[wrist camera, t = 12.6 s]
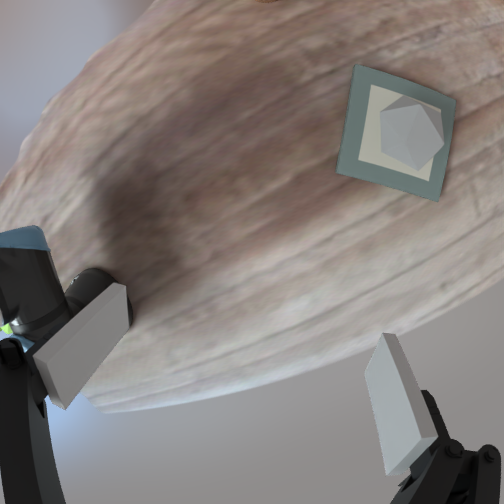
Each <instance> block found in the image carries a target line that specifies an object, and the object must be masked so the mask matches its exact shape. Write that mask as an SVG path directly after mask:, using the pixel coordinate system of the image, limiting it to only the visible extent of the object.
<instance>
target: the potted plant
mask: <svg viewBox="0 0 504 504" xmlns="http://www.w3.org/2000/svg"><path fill="white" fill-rule="evenodd" d="M255 1H258V2H265V3H269V2H274V1H277V0H255Z"/></svg>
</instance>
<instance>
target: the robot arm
mask: <svg viewBox="0 0 504 504" xmlns="http://www.w3.org/2000/svg"><path fill="white" fill-rule="evenodd" d="M50 252H51V250H50V248H48V245H47V242H46V239H45V236H44V233H43V231H42V229H41V228H40V227H38V226H35V225H32V226H27V227H22V228H18V229H13V230H9V231H6V232H2V233H0V327H3V326H5V325H6V324H8V323H9V325H10V327H11V330H12V332H13V335H11V336H10V337H9V338H5V339H3V340H1V341H0V470H1V478H2V486H3V492H4V498H5V504H66V502H65V499H64V495H63V492H62V489H61V485H60V481H59V477H58V473H57V468H56V464H55V459H54V455H53V450H52V444H51V438H50V432H49V425H48V417H47V408H46V402H45V400H44V399H45V398H46V396H47V395H49V397H50V400H51V402H52V403H53V404H55V405H57V406H58V407H60V408H62V409H64V410H66V409H67V407H68V406H69V405H70V403H71V402H72V401H73V399H74V398H75V397H76V396H77V394H78V393H79V392H80V390H81V389H82V388H83V386H84V385H85V384H86V382H87V381H88V380H89V379H90V377H91V376H92V375H93V373H94V372H95V371H96V370H97V368H98V367H99V366H100V365H101V363H102V362H103V361H104V359H105V358H106V357H107V356H108V354H109V353H110V352H111V351H112V349H113V348H114V347H115V346H116V344H117V343H118V342H119V341H120V340H121V338H122V337H123V336H124V335H125V333H126V332H127V331H128V330H129V327H130V325H131V322H132V307H131V304H130V301H129V298H128V296H127V294H126V286H125V285H121V284H119V283H118V282H117V281H116V280H115V279H114V278H112V277H111V276H110V275H108V274H107V273H105V272H103V271H101V270H97V269H87V270H85V271H83V272H81V273H80V274H78V275H77V276H76V277H75V278H74V279H73V280H72V282H71V284H70V286H69V287H68V289H67V290H66V292H65V293H64V292H63V289H62V286H61V283H60V281H59V278H58V275H57V272H56V269H55V266H54V263H53V260H52V256H51V253H50ZM364 375H365V379H366V383H367V387H368V391H369V395H370V399H371V403H372V407H373V412H374V416H375V421H376V425H377V430H378V435H379V440H380V445H381V449H382V455H383V460H384V466H385V471H386V476H388V475H399V474H403V473H404V472H405V471H406V470H407V469H408V468H409V467H410V471H411V474H410V475H409V476H408V477H407V478H406V479H405V480H404V481H403V482H401V483H400V484H399V485H398V486H401V485H402V487H401V488H400V490H399V491H398V493H397V494H396V496H395V497H394V498H393V500H392V501H391V503H390V504H499V498H500V482H501V456H500V453H499V451H498V449H497V448H496V447H494V446H492V445H484V446H482V448H480V449H479V450H478V452H475V451H469V450H464V447H463V446H462V444H461V443H459V442H458V441H457V440H454V439H450V436H449V434H448V431H447V429H446V426H445V424H444V421H443V419H442V416H441V415H440V411H439V409H438V408H437V404H436V402H435V400H434V397H433V396H432V395H431V394H430V393H429V392H428V391H427V390H420V388H419V386H418V383H417V381H416V379H415V376H414V374H413V372H412V370H411V367H410V365H409V363H408V361H407V358H406V356H405V354H404V352H403V350H402V347H401V345H400V343H399V341H398V339H397V337H396V335H395V334H389V333H382V335H381V337H380V339H379V342H378V344H377V346H376V348H375V351H374V353H373V355H372V357H371V360H370V362H369V364H368V366H367V368H366V370H365V372H364Z"/></svg>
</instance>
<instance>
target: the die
mask: <svg viewBox="0 0 504 504" xmlns="http://www.w3.org/2000/svg"><path fill="white" fill-rule="evenodd" d="M380 125H381V152H382V153H384V154H386V155H388V156H390V157H392V158H394V159H396V160H398V161H400V162H402V163H404V164H406V165H408V166H410V167H412V168H413V169H415V170H417V171H419V170H420V169H421V168H422V167H423V166H424V165H425V164H426V163H427V162H428V161H429V160H430V159H431V158H432V157H433V156H434V155H435V154H436V153H437V152H438V151H439V150H440V149H441V148H442V147H443V145H444V134H443V126H442V119H441V113H440V112H438V111H436V110H434V109H432V108H430V107H428V106H426V105H424V104H422V103H420V102H418V101H415V100H413V99H411V98H409V97H407V96H404V95H403V96H402V97H400V98H399V99H397V100H396V101H395V102H393V103H392V104H390V105H389V106H388V107H386V108H385V109H383V110H382V111H380Z"/></svg>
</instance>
